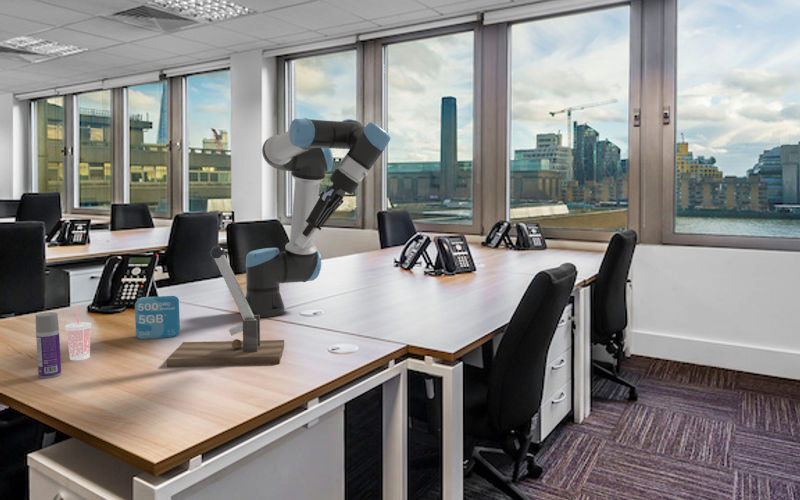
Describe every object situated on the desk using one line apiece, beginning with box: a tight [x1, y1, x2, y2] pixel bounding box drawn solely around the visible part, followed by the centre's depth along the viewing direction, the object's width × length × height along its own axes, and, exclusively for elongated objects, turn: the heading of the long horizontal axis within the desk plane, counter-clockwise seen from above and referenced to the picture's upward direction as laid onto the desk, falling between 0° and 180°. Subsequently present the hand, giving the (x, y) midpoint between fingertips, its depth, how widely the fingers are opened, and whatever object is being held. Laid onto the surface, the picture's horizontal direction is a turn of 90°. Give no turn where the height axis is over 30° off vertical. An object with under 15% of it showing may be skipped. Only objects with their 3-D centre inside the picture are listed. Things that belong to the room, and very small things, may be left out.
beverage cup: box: [64, 305, 92, 361], centre depth 149 cm, size 6×6×14 cm
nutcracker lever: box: [210, 245, 258, 337], centre depth 151 cm, size 4×8×24 cm, turn 97°
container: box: [35, 311, 62, 379], centre depth 135 cm, size 5×5×15 cm
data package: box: [134, 295, 181, 340], centre depth 172 cm, size 12×4×12 cm, turn 108°
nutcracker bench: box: [166, 315, 285, 368], centre depth 152 cm, size 16×28×10 cm, turn 97°
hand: (299, 244), depth 156 cm, fingers closed
